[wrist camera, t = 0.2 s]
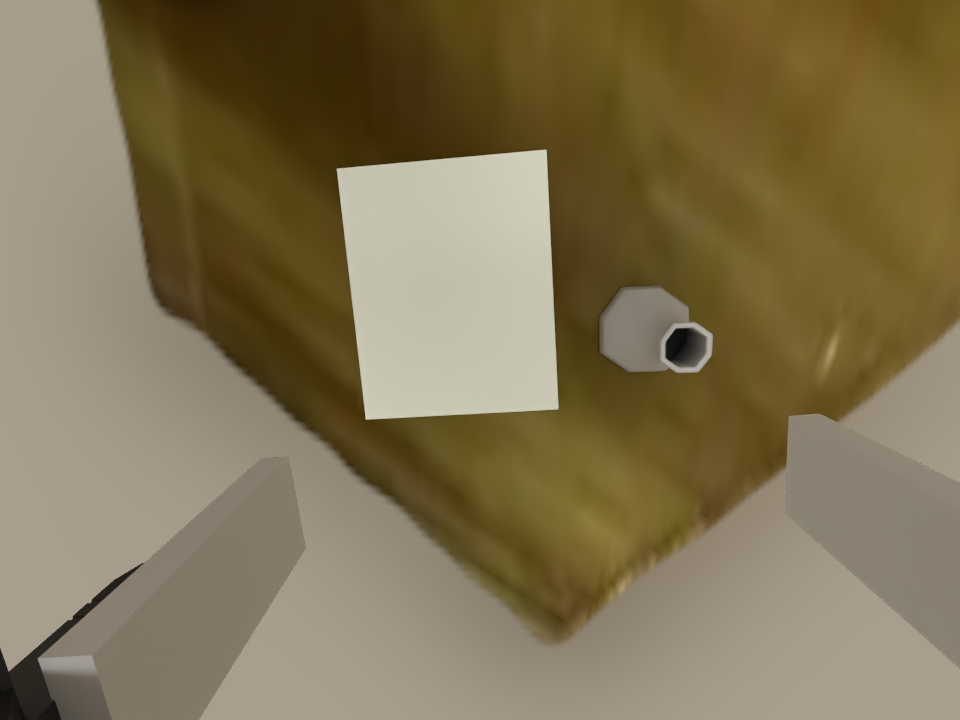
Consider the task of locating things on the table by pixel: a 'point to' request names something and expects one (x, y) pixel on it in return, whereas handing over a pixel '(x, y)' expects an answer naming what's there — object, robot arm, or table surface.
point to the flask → (652, 332)
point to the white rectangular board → (452, 284)
